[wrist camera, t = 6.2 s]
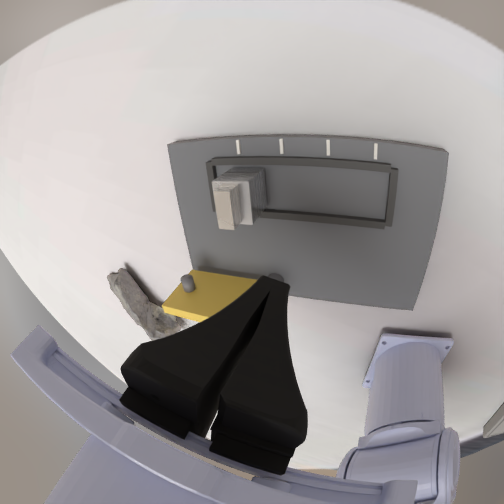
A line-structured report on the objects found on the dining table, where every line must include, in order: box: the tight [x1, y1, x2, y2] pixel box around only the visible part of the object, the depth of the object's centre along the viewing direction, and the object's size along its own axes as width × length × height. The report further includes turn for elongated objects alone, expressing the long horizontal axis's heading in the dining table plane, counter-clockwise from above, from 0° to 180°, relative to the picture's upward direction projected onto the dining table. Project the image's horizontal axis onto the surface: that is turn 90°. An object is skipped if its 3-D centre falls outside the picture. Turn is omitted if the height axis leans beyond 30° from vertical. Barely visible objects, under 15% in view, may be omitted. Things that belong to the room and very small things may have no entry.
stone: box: [107, 268, 181, 341], centre depth 32 cm, size 6×12×4 cm, turn 47°
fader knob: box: [212, 168, 267, 230], centre depth 17 cm, size 3×2×4 cm
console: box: [167, 135, 449, 311], centre depth 18 cm, size 13×20×7 cm, turn 95°
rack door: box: [162, 270, 257, 322], centre depth 21 cm, size 2×7×5 cm, turn 95°
